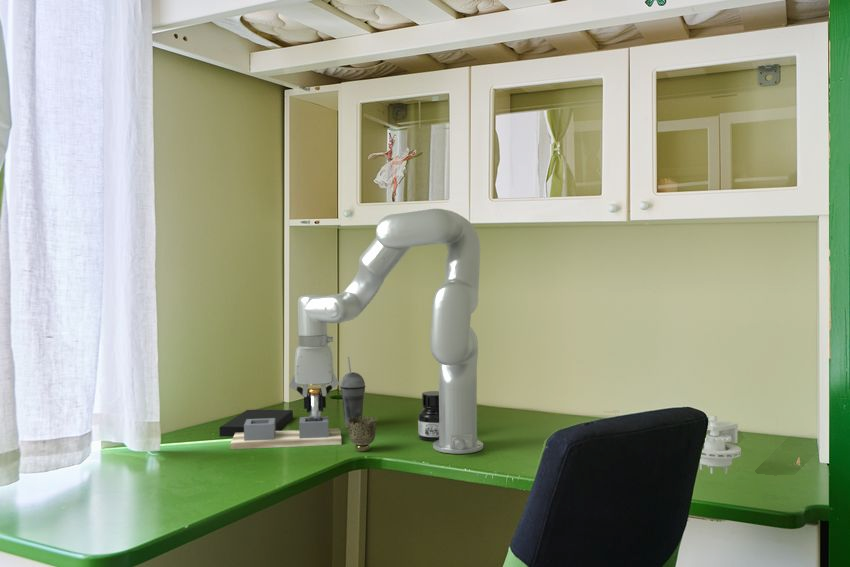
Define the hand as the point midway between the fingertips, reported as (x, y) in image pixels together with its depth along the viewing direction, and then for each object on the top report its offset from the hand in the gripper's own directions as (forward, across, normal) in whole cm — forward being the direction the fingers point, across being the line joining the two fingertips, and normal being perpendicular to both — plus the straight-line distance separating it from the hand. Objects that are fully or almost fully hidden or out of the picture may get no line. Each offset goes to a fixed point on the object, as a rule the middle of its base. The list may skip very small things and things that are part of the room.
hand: (315, 410), depth 203 cm
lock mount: (+6, 0, 0) cm, 7 cm away
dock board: (+8, +8, 0) cm, 11 cm away
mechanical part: (+10, -88, +44) cm, 99 cm away
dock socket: (+6, +14, 0) cm, 16 cm away
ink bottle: (+9, -32, +3) cm, 33 cm away
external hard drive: (+8, +16, -19) cm, 27 cm away
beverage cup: (+8, -10, -14) cm, 20 cm away
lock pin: (+5, 0, 0) cm, 5 cm away
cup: (+8, -12, +13) cm, 19 cm away
